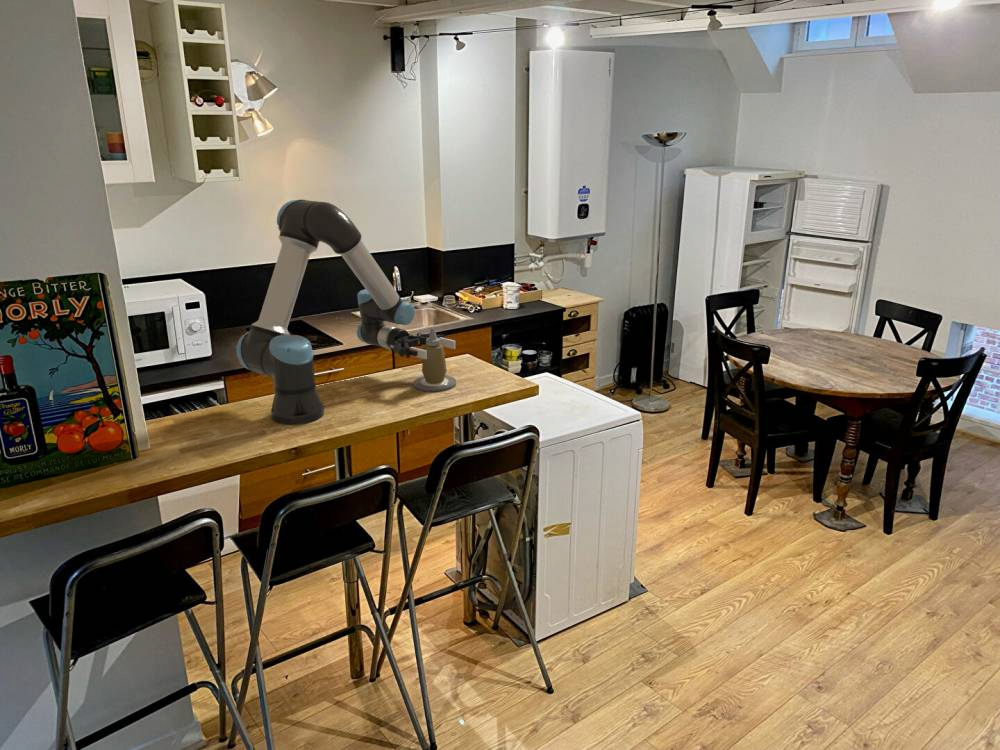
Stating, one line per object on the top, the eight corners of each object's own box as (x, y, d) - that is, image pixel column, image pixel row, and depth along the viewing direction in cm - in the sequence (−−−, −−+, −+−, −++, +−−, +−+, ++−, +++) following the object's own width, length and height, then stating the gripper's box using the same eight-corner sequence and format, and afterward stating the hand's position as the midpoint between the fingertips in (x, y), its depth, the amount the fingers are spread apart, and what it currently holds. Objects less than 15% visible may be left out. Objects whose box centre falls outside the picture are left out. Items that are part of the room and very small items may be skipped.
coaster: (405, 388, 245) (405, 385, 245) (426, 375, 257) (426, 372, 257) (444, 394, 240) (443, 390, 239) (463, 380, 252) (463, 377, 251)
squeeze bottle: (448, 377, 252) (446, 325, 246) (445, 385, 244) (443, 331, 238) (424, 377, 252) (421, 325, 246) (420, 385, 244) (418, 331, 238)
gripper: (420, 340, 265) (466, 351, 253) (367, 358, 247) (413, 371, 234) (419, 320, 263) (465, 330, 250) (365, 336, 244) (412, 347, 232)
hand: (440, 349), depth 242 cm, fingers open, 13 cm apart
